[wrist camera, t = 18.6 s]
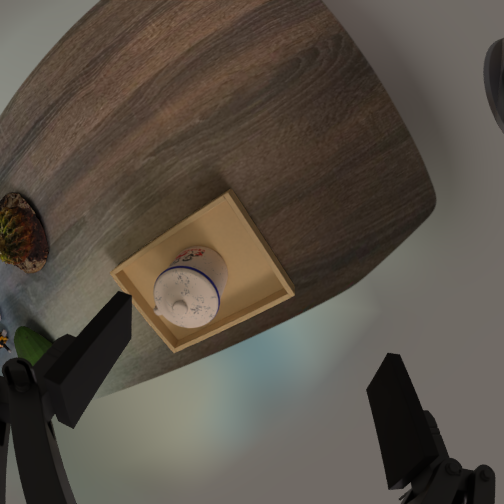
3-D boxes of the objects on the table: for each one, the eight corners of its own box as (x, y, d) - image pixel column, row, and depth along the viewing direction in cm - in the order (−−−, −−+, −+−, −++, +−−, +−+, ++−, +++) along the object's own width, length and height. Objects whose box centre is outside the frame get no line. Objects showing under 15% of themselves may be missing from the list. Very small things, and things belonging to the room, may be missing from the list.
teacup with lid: (205, 232, 46) (181, 263, 35) (241, 279, 48) (230, 321, 37) (149, 272, 49) (118, 308, 38) (184, 314, 51) (162, 357, 41)
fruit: (21, 323, 59) (-3, 345, 50) (38, 311, 57) (12, 335, 47) (57, 371, 63) (37, 396, 54) (78, 364, 61) (57, 392, 51)
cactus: (-10, 229, 51) (-40, 244, 42) (12, 174, 46) (-23, 185, 37) (34, 285, 54) (6, 307, 45) (62, 236, 49) (28, 256, 40)
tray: (231, 188, 44) (227, 191, 41) (294, 285, 48) (295, 295, 45) (117, 265, 50) (109, 272, 47) (178, 342, 55) (173, 353, 52)
